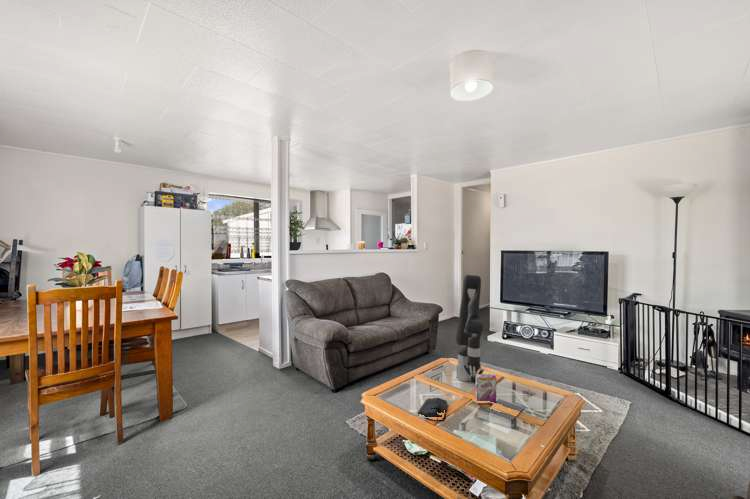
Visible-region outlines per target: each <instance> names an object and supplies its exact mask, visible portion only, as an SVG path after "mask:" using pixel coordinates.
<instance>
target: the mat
mask: <svg viewBox="0 0 750 499" xmlns="http://www.w3.org/2000/svg"><path fill="white" fill-rule="evenodd" d="M496 403H499V404H502V405H503V406H505V407H508V408H511V409H514V410H518V411H521V412H523V410H524V409H525V407H524V406H522V405H519V404H515V403H512V402H509V401H506V400H503V399H500V398H497V399H496ZM485 411H486V412H490V413H492V414H493V415H496V416H500V417H503V418H504V419H508V420H509V421H514V420H515V418H516V417H517V416H513V415H510V414H507V413H503V412H498V411H495V410H493V409H490V408H488V407H487V408H486V409H485Z"/></svg>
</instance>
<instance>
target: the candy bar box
mask: <svg viewBox="0 0 750 499" xmlns="http://www.w3.org/2000/svg"><path fill="white" fill-rule="evenodd" d="M476 398H477V401H490V402H494V403H496V401H497V377H496V375H495V373H482V374H478V373H477V374H476V382H475V399H476ZM477 401H476V402H477Z"/></svg>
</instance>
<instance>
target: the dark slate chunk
mask: <svg viewBox="0 0 750 499" xmlns="http://www.w3.org/2000/svg"><path fill="white" fill-rule="evenodd" d="M447 404H448V401H447V400H446V399H442V398H440V397H433V398H426V400H424V403H423V404H422V405H421V407H420V409H419V410H418V411H417V413H418V414H421V415H424V416H425V417H437V412H438V413H441V412H442V413H444V410H446V411H447Z"/></svg>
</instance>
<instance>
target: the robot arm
mask: <svg viewBox="0 0 750 499" xmlns="http://www.w3.org/2000/svg"><path fill="white" fill-rule="evenodd" d="M481 288H482V279H481V276H479V275H473V274H465V275H464V276H463V279H462V292H461V293H462V294H461V295H462V296H461V303H460V308H459V317H458V322H457V328H456V333H455V343H456V345H458V346H462V347H460V348H459V349H458V350H457V364H456V379H457V380H459V381H461V382H471V383H472V384H476V374H484V372H485V369H483V368H482V365H481V339H482V338H481V337H482V334H483V332H484V325H483V323H482V322H480V321H475V320H479V319H480V315H481V314H480V300H481V290H482V289H481ZM468 290H475V291H474V294H473V296H472V297H470V294H469V292H468ZM473 334H475V335H474V336H473Z"/></svg>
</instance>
